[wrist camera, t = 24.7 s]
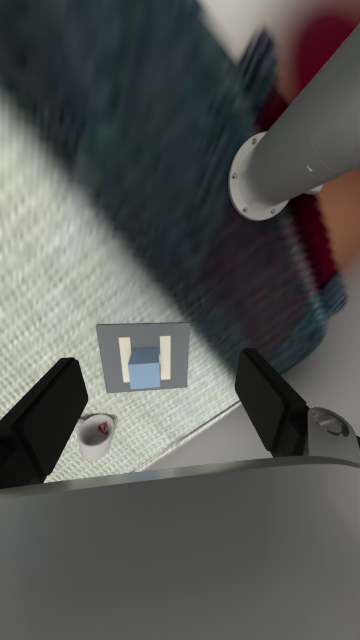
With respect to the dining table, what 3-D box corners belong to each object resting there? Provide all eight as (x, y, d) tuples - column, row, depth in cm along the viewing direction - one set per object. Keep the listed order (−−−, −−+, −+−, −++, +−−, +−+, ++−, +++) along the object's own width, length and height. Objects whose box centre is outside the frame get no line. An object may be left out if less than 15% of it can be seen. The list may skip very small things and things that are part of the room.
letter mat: (189, 322, 38) (189, 323, 37) (186, 386, 44) (186, 387, 43) (96, 324, 35) (95, 325, 35) (107, 391, 41) (106, 393, 41)
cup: (61, 449, 41) (59, 429, 38) (88, 422, 48) (89, 403, 45) (95, 474, 38) (96, 455, 35) (118, 442, 45) (121, 423, 42)
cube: (158, 347, 38) (159, 362, 33) (159, 369, 40) (160, 387, 35) (132, 349, 38) (127, 364, 32) (134, 371, 40) (130, 389, 34)
